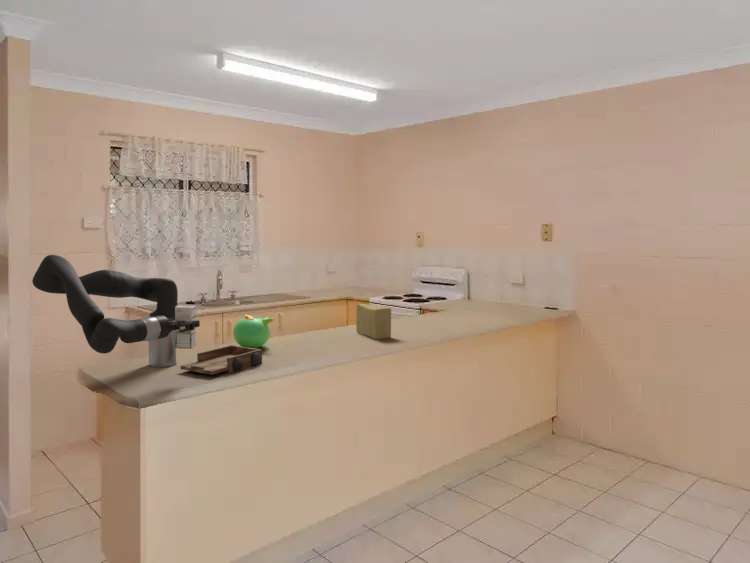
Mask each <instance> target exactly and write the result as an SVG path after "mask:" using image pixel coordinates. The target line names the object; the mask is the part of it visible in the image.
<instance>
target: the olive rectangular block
mask: <svg viewBox="0 0 750 563" xmlns="http://www.w3.org/2000/svg"><path fill="white" fill-rule="evenodd" d="M355 313H356V314H355V315H356V321H355V322H356V323H355V324H356V325H355V326H356V328H355V330H356V333H357V332H358V334H361V335H363V336H367V337H369V338H372V339H373V340H383V339H384V340H385V339H390V338H391V336H392V309H391V308H390V307H385V306H378V305H371V304H365V303H357V304H356V312H355Z"/></svg>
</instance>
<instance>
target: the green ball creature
mask: <svg viewBox="0 0 750 563" xmlns="http://www.w3.org/2000/svg"><path fill="white" fill-rule="evenodd" d="M244 316H245V317H241V319H239V320H238V321H237V322H236V323H235V325H234V327H233V331H232V333H233V334H232V335H233V338H234V340H235V342H236V343H237V344H238V346H241V347H248V348H255V349H259V348H260V347H263V346H264V345H265V344H267V342H268V341H269V339H270V337H271V336H270V335H271V328H270V323H272V322H273V321H274V320H275V319H274V318H272V317H271V318H270V317H269V316H267V317H264V318H262V317H259V316H255V315H249V314H244Z"/></svg>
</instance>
